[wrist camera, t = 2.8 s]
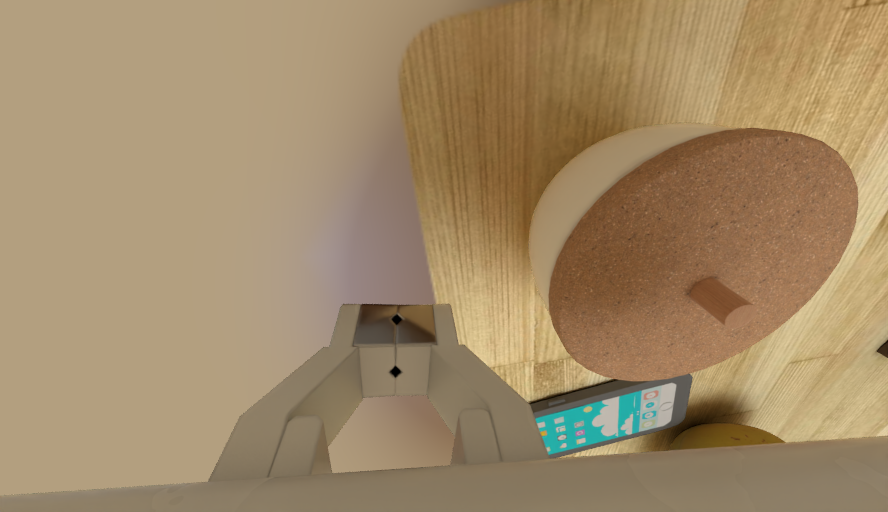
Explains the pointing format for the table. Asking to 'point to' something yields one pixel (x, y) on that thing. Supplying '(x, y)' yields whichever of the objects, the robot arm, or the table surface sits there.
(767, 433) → the fruit
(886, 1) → the table surface
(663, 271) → the trinket box
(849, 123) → the table surface
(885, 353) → the rail
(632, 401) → the smartphone
